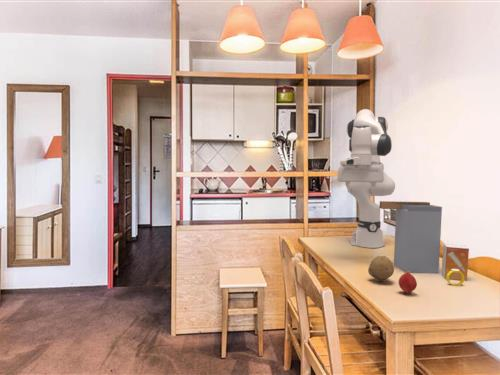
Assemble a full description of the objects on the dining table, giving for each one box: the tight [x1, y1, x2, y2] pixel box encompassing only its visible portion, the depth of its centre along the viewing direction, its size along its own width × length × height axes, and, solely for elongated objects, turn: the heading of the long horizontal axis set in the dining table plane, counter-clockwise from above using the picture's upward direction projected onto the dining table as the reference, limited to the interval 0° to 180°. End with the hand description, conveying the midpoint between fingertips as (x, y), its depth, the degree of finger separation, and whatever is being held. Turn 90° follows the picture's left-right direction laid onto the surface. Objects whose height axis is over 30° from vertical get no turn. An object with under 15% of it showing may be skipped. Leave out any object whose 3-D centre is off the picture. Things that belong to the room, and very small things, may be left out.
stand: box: [393, 204, 443, 274], centre depth 159 cm, size 12×14×28 cm
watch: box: [446, 269, 464, 286], centre depth 139 cm, size 6×3×6 cm, turn 87°
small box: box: [441, 243, 470, 282], centre depth 148 cm, size 8×6×13 cm
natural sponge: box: [367, 255, 395, 282], centre depth 141 cm, size 9×9×10 cm
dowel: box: [378, 200, 431, 210], centre depth 161 cm, size 3×21×3 cm, turn 92°
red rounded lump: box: [398, 271, 418, 294], centre depth 128 cm, size 6×6×8 cm
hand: (360, 192), depth 165 cm, fingers open, 8 cm apart
